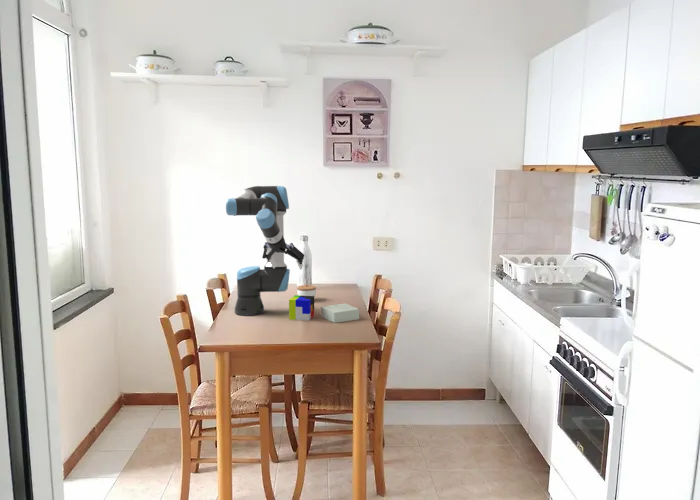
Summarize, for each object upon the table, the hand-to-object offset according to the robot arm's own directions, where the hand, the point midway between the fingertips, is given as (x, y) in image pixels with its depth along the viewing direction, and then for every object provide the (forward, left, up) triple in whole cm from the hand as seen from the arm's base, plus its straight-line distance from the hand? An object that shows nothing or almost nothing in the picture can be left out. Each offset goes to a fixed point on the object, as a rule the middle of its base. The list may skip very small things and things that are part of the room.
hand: (288, 266), depth 259 cm
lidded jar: (-38, +28, -28) cm, 55 cm away
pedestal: (+4, +26, -27) cm, 38 cm away
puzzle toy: (-6, +10, -28) cm, 30 cm away
